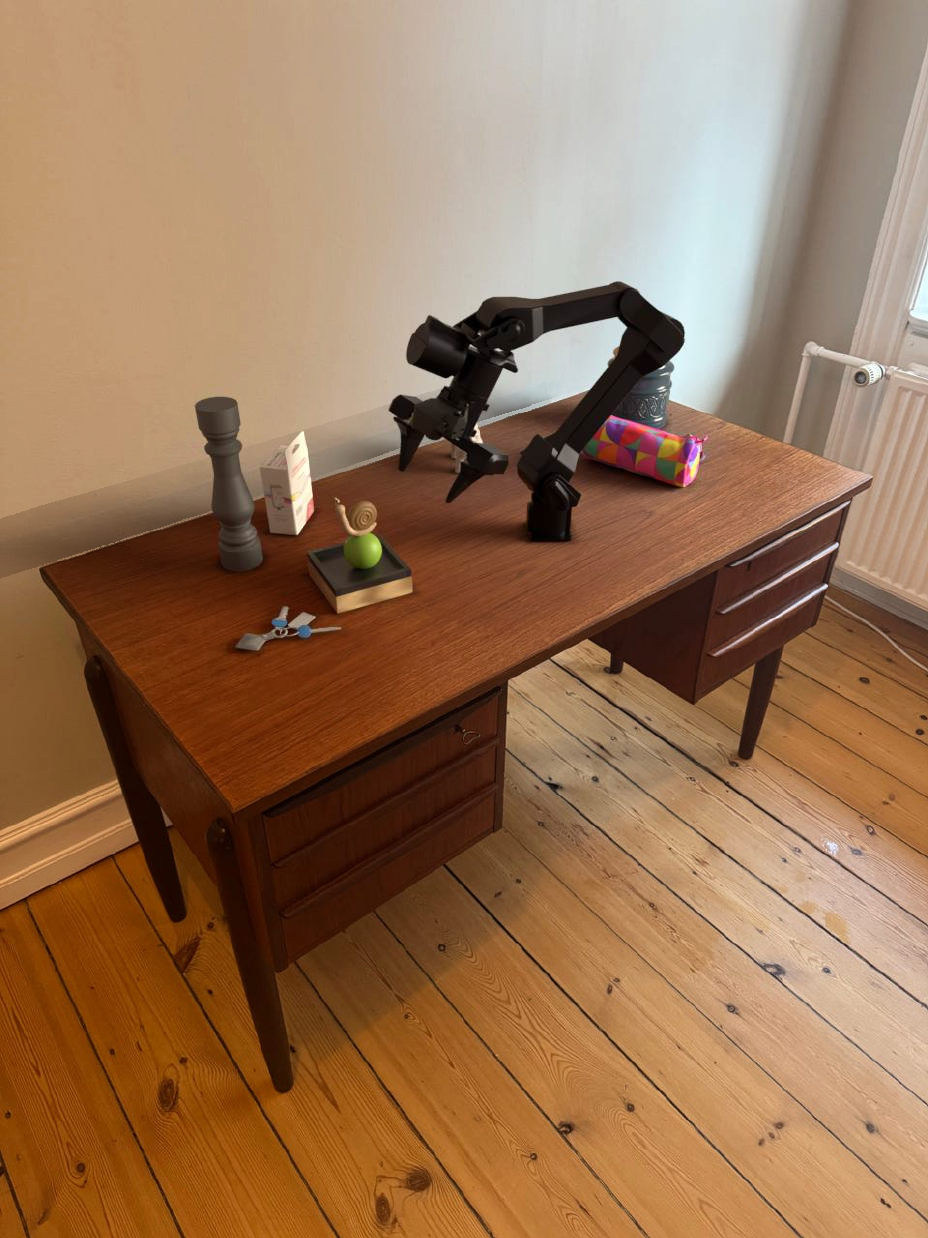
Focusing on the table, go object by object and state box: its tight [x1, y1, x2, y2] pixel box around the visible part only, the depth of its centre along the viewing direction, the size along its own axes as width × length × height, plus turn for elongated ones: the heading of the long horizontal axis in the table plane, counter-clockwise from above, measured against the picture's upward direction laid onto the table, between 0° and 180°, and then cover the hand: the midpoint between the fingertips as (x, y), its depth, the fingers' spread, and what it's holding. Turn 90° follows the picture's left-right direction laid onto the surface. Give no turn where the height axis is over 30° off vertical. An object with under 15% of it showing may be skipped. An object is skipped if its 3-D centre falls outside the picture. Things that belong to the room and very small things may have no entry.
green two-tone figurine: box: [333, 496, 382, 569], centre depth 123 cm, size 5×6×12 cm
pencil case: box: [581, 415, 709, 488], centre depth 157 cm, size 22×9×9 cm, turn 58°
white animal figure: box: [450, 422, 484, 474], centre depth 161 cm, size 5×13×11 cm, turn 8°
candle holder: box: [194, 396, 264, 572], centre depth 127 cm, size 6×6×25 cm
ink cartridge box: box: [258, 430, 315, 536], centre depth 140 cm, size 9×5×15 cm, turn 168°
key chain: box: [235, 605, 342, 652], centre depth 119 cm, size 14×8×1 cm, turn 114°
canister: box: [607, 345, 675, 430], centre depth 174 cm, size 13×13×18 cm
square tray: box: [306, 533, 413, 614], centre depth 128 cm, size 12×12×4 cm
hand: (424, 486), depth 129 cm, fingers open, 9 cm apart
